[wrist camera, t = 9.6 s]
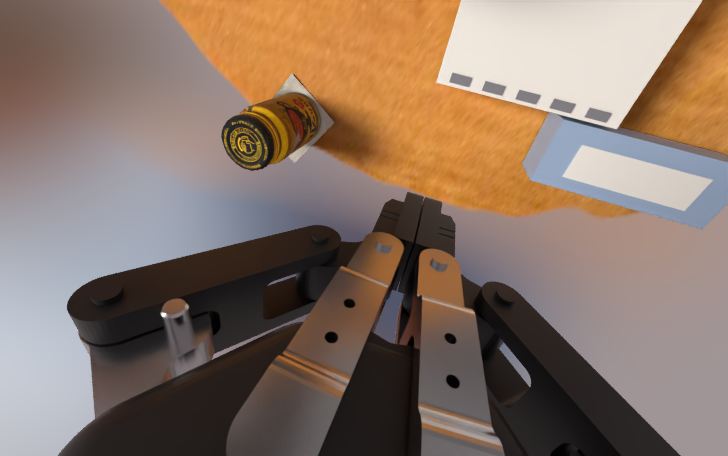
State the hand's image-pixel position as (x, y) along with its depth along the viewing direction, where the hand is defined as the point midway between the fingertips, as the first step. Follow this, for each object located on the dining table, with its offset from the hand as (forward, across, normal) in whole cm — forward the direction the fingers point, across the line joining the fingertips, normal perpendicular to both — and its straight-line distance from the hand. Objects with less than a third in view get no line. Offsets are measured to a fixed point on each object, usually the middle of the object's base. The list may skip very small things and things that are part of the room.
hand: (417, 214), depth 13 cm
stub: (+25, -18, +1) cm, 31 cm away
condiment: (+25, +17, +6) cm, 31 cm away
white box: (+25, -7, -9) cm, 27 cm away
